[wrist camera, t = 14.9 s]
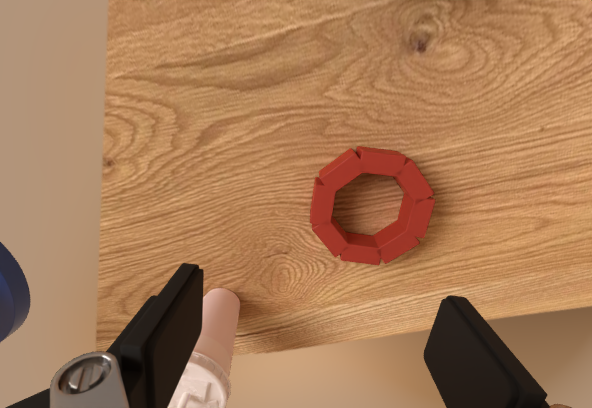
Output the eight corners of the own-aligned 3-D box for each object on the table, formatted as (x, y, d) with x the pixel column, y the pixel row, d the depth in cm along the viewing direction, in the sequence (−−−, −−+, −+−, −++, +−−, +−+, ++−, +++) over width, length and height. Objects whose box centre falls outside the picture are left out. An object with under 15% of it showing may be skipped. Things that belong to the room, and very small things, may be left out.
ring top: (305, 242, 26) (305, 256, 24) (320, 141, 23) (321, 145, 21) (405, 255, 26) (415, 270, 24) (434, 155, 23) (447, 161, 21)
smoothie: (266, 313, 29) (229, 488, 16) (216, 337, 30) (143, 518, 17) (228, 265, 27) (152, 416, 14) (177, 293, 29) (64, 455, 16)
